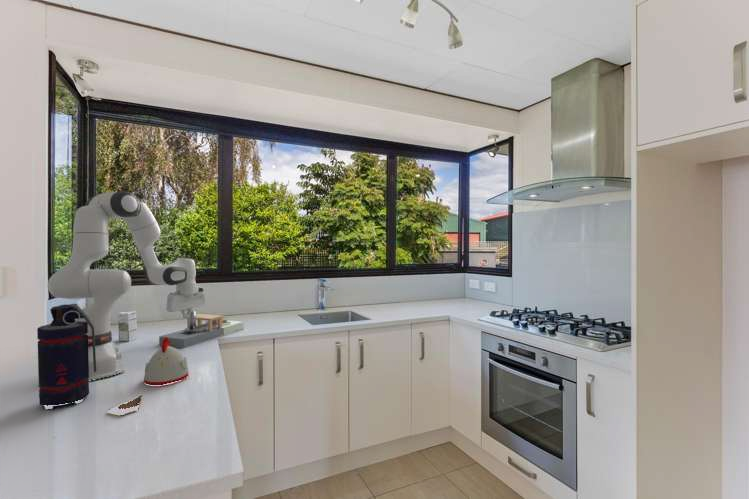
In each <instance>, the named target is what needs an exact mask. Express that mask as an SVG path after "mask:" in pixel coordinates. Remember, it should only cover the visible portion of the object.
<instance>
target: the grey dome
mask: <svg viewBox="0 0 749 499" xmlns="http://www.w3.org/2000/svg"><path fill="white" fill-rule="evenodd" d="M170 343H171V341H169V339H168V337H166V338H165V339H164V340H163V345H160V346H161V347H160V348H158V350H157V351H156V352H155V353H154V354H152V356H151V358H150V359H149V361H148V362H146V363H145V368H144V376H143V383H144V382H145V383H146V384H149V385H163V384H167V383H171V382H175V381H179V380H182V379H184V378H186V377H187V376H188V377H189V368H188V361H187V357H185V356H183V354H182V353H181V352H180V351H179V350H178V349H177V348H176V347H173V346H170Z"/></svg>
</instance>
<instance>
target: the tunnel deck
mask: <svg viewBox="0 0 749 499" xmlns="http://www.w3.org/2000/svg"><path fill="white" fill-rule="evenodd" d="M222 316H223V315H217V314H215V315H214V314H208V313H207V314H206V313H205V314H204V313H203V314H202V313H197V314H196V322H197V325H201V324H203V321H208V325H206V326H202V327H199V328H196V329H198V330H200V329H204V328H208V330H206V331H202V332H191V331H184V329H182V330H179V331H174V332H171V333H166V334H163V335H160V336H159V338H158V339H159V340H158V341H159V344H158V345H159V346H161V345H163V340H164V339H165V338H166V337H168V339H169V341H171V343H170V347H173V348H181V349H184V348H188V347H191V346H193V345H194V346H195V345H197V344H201V343H204V342H206V341H210V340H214V339H216V337H217V338H219V336H220V337H222V336H221V335H223V336H226V335H229V334H232V333H234V331H235V332H238V331H237V330H239V331H241V329H242V330H244V328H245V327H244V326H245V325H244V321H239V320H238V321H236V320H229V319H227V320H228V322H229V321H230V322H231V323H230V324H227V325H223V326H222ZM186 319H187V323H186V324H187V326H186V327H187V328H189V318H186ZM215 319H217V320H218V327H216V328H213V329H212V320H215ZM231 332H232V333H231ZM228 333H229V334H228ZM225 334H226V335H225Z"/></svg>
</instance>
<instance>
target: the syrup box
mask: <svg viewBox="0 0 749 499" xmlns="http://www.w3.org/2000/svg"><path fill="white" fill-rule="evenodd" d="M117 315H118V316H117V320H118V322H117V323H118V342H133V341H134V340H135V341H136V340H137V339H138V329H137V323H138V321H137V311H136V310H126V311H125V310H124V311H121V312H118V314H117Z"/></svg>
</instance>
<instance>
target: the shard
mask: <svg viewBox="0 0 749 499" xmlns="http://www.w3.org/2000/svg"><path fill="white" fill-rule="evenodd" d="M137 397H138V398H136V397H135V398H136V399H134V398H133V399H134V400H133V401H130V402H128V403H127V404H122V405H120V406H119V407H118V408H119V409H121V408H122V409H123V408H124V409H126V408H130V407H133V406H134V407H135V406H137V405H139V404H140V405H141V403H140V401H141V402H142V397H143V395H142V394H141V395H139V396H137ZM138 403H139V404H138Z"/></svg>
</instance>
